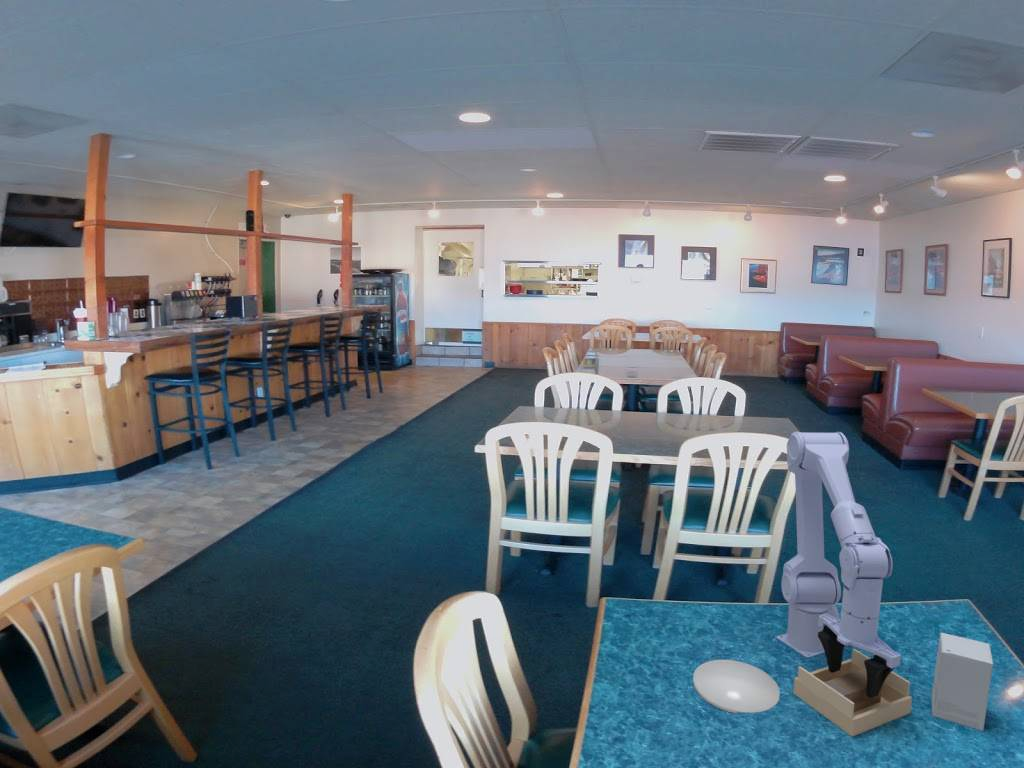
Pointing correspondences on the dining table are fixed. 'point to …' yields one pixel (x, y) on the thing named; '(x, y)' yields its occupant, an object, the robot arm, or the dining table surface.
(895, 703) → the wooden tray
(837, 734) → the dining table surface
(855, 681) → the brown rectangular block
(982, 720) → the supplement box
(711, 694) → the plate
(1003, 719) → the dining table surface
